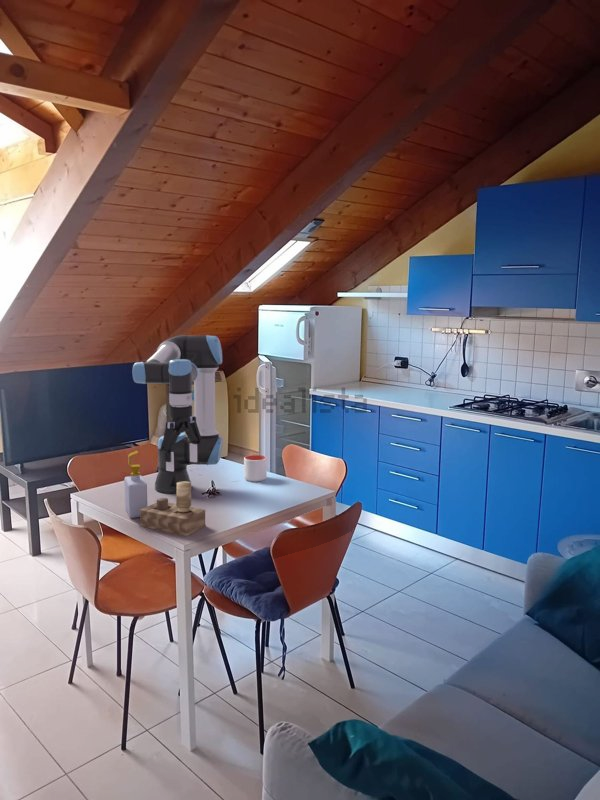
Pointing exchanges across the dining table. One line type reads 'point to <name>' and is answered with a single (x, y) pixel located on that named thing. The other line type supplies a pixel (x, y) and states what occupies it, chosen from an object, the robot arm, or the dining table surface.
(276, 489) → the dining table surface
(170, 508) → the block
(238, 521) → the dining table surface
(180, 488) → the leg
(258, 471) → the cup
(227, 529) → the dining table surface
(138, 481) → the soap bottle
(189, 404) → the robot arm
